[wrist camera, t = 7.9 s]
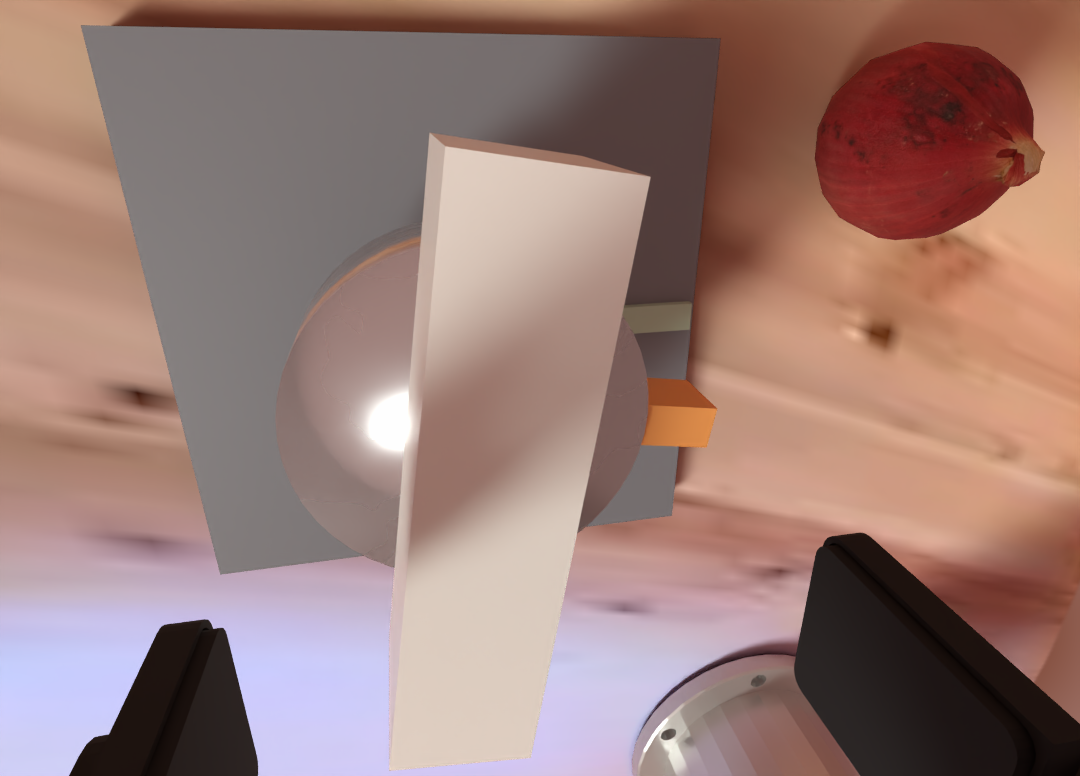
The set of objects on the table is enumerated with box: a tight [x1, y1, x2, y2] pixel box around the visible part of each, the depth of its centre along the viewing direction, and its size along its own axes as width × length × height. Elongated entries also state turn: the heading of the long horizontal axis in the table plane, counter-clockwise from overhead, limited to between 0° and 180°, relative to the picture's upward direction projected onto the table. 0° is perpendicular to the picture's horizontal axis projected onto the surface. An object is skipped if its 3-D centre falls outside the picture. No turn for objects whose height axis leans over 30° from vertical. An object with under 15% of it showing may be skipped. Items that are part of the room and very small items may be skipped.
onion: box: [815, 42, 1045, 240], centre depth 20 cm, size 6×6×8 cm
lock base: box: [81, 25, 721, 574], centre depth 21 cm, size 18×18×6 cm
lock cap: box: [275, 133, 717, 771], centre depth 16 cm, size 11×13×7 cm
